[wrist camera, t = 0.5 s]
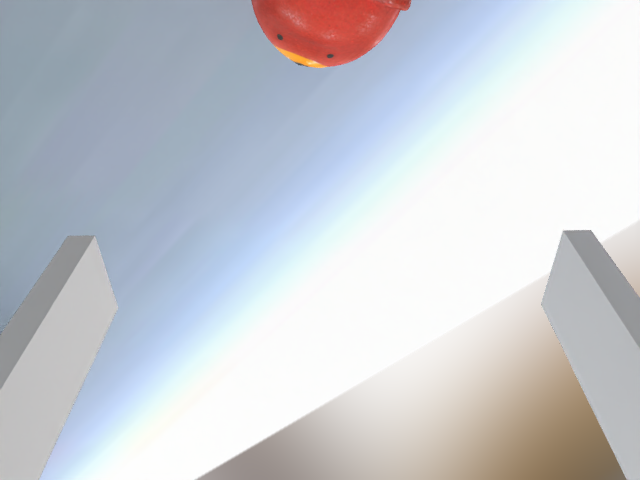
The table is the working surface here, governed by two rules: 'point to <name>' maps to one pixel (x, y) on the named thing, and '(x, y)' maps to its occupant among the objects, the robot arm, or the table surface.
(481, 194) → the table surface
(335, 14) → the stacking bear
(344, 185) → the table surface
